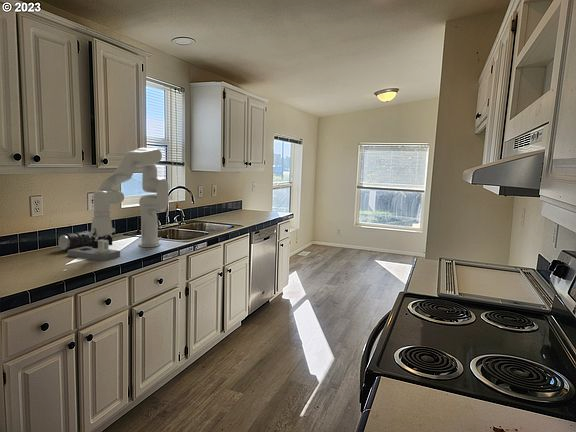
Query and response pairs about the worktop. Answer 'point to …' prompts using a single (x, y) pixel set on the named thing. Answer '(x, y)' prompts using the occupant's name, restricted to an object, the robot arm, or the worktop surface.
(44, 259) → the worktop surface
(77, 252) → the socket block
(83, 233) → the black flashlight
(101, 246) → the plug
